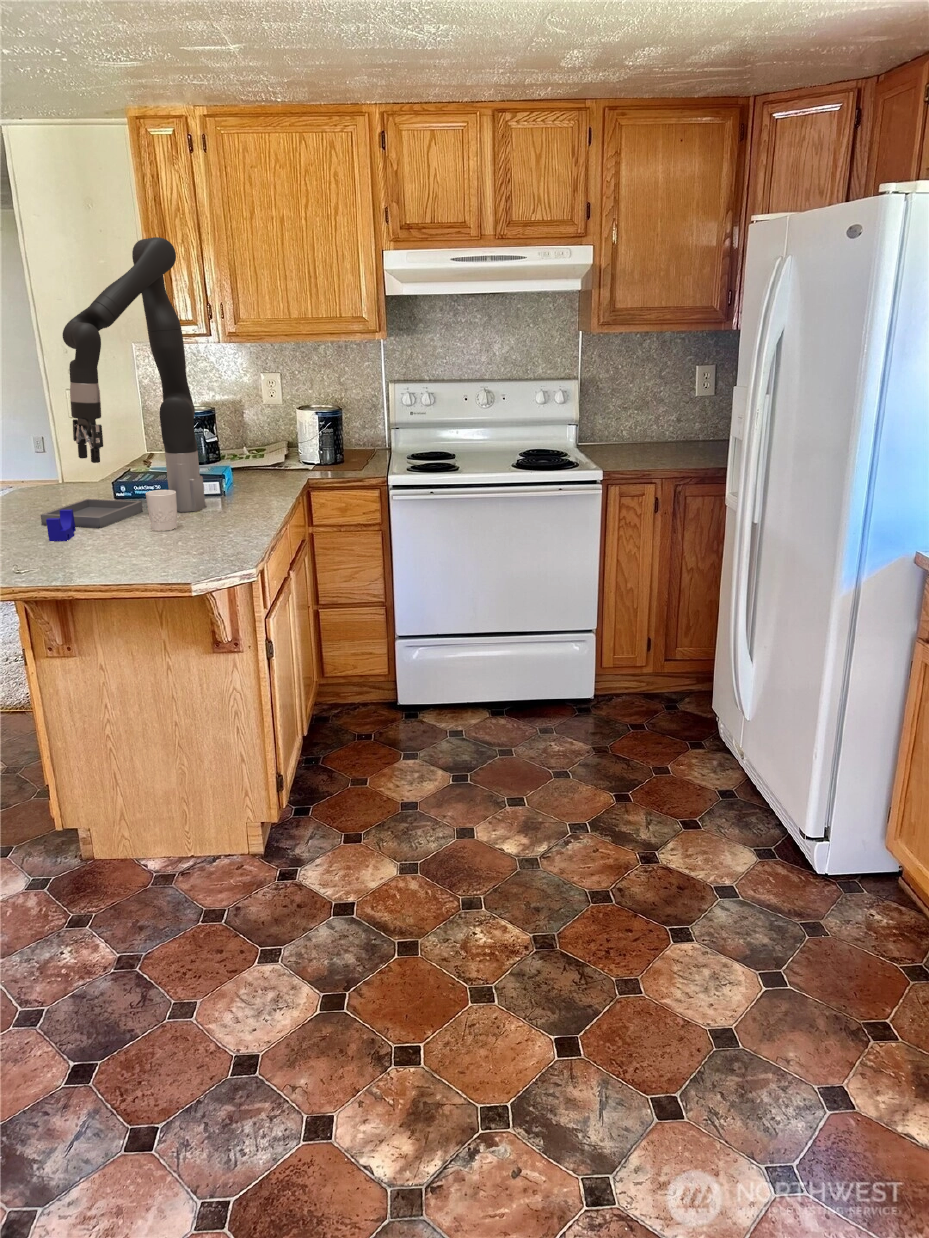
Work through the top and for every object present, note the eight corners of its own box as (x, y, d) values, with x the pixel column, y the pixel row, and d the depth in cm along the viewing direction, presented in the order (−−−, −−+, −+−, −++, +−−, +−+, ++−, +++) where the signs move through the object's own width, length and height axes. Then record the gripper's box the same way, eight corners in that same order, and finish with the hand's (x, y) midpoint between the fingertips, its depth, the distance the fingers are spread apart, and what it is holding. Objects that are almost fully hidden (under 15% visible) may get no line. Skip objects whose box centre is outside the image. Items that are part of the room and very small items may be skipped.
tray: (142, 511, 273) (141, 501, 272) (100, 528, 252) (99, 517, 251) (88, 508, 276) (86, 498, 275) (42, 525, 256) (40, 514, 255)
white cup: (185, 526, 255) (181, 490, 252) (167, 533, 248) (164, 496, 245) (161, 524, 258) (157, 489, 254) (143, 530, 251) (139, 494, 247)
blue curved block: (67, 542, 239) (64, 519, 237) (49, 542, 239) (46, 519, 237) (81, 531, 251) (78, 509, 249) (64, 531, 250) (61, 509, 248)
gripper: (110, 402, 246) (113, 463, 250) (88, 397, 255) (92, 456, 260) (82, 403, 241) (86, 465, 245) (61, 397, 250) (65, 457, 255)
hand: (89, 460), depth 253 cm, fingers open, 8 cm apart
